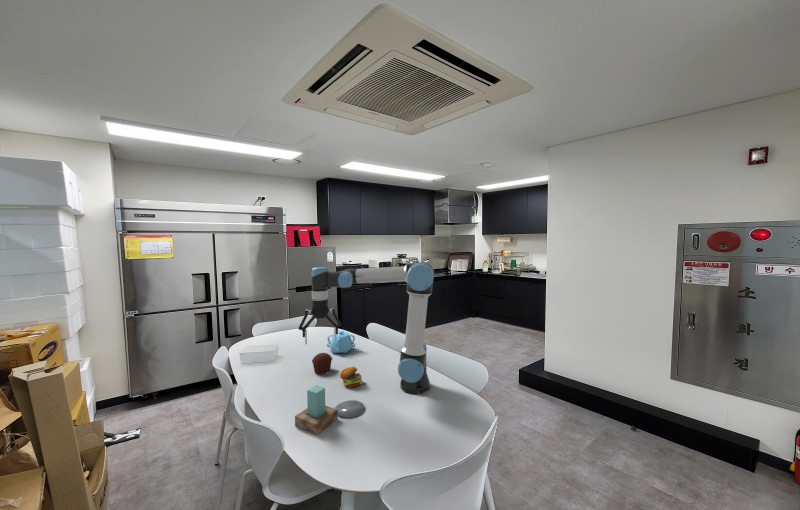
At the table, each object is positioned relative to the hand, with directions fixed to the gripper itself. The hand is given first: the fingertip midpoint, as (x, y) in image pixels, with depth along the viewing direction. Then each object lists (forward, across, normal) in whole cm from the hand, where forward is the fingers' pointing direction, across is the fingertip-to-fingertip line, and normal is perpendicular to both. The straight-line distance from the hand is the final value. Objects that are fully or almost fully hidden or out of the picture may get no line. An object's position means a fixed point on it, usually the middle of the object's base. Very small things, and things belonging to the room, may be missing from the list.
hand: (320, 342), depth 149 cm
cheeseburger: (+26, -15, -6) cm, 31 cm away
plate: (+26, -12, +19) cm, 34 cm away
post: (+26, +2, +24) cm, 35 cm away
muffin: (+26, -1, -27) cm, 38 cm away
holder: (+26, +2, +24) cm, 35 cm away
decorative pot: (+26, -14, -58) cm, 65 cm away
